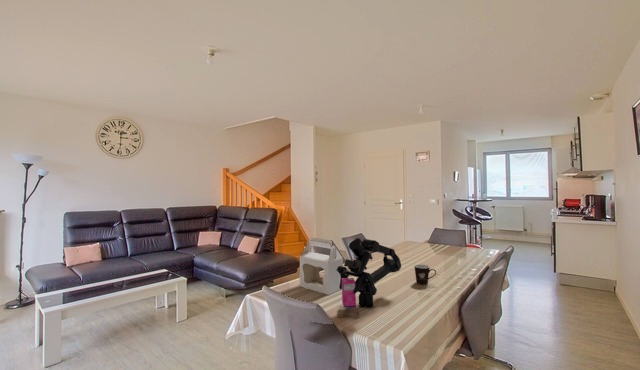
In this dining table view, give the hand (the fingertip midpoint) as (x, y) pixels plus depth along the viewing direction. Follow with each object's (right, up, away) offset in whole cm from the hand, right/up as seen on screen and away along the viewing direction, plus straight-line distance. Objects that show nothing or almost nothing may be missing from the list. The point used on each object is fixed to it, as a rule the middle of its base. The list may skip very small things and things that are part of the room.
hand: (346, 291), depth 136 cm
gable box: (-12, -11, +36) cm, 40 cm away
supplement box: (+1, -7, +1) cm, 7 cm away
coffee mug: (+50, -11, +43) cm, 67 cm away
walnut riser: (+1, -11, +1) cm, 11 cm away
